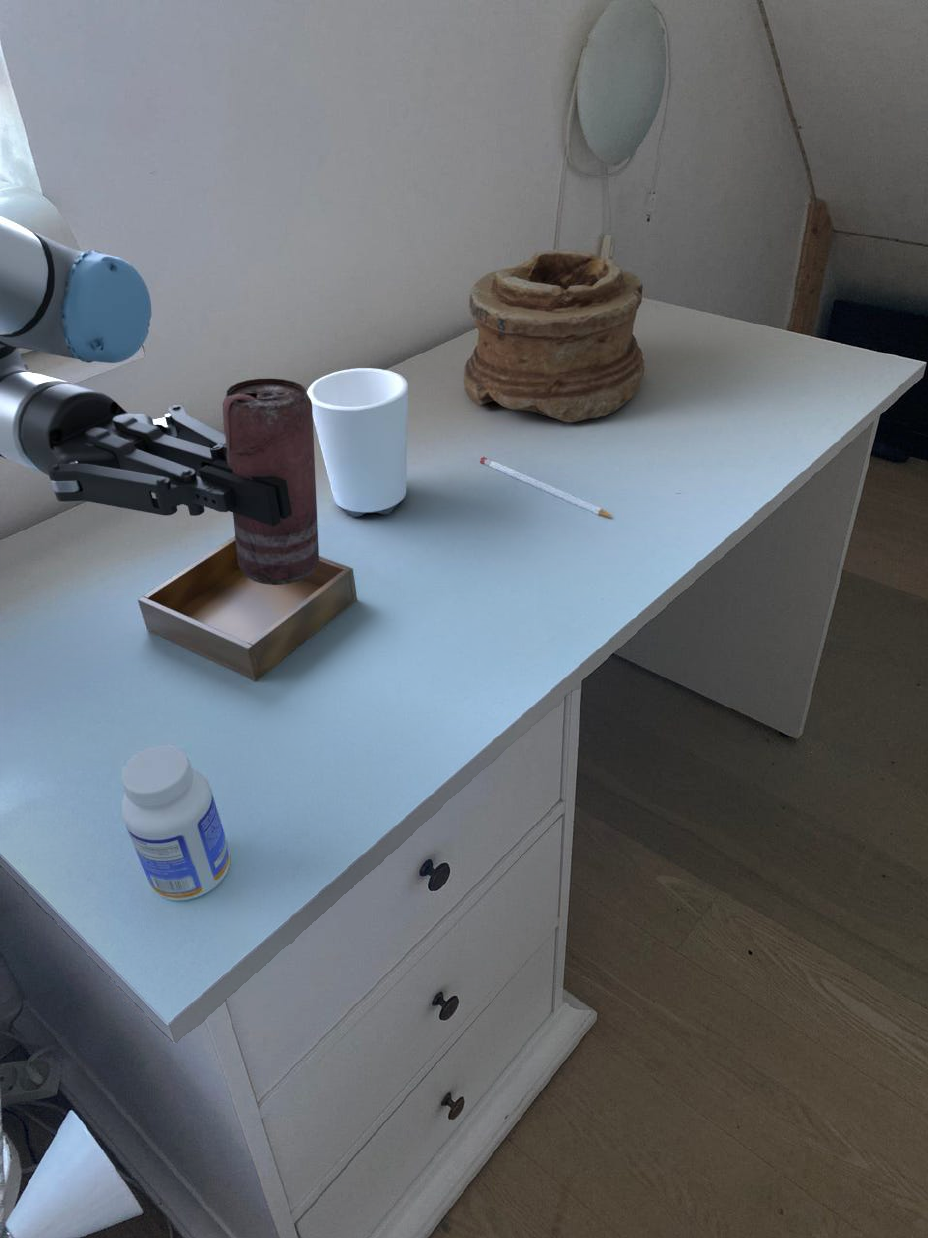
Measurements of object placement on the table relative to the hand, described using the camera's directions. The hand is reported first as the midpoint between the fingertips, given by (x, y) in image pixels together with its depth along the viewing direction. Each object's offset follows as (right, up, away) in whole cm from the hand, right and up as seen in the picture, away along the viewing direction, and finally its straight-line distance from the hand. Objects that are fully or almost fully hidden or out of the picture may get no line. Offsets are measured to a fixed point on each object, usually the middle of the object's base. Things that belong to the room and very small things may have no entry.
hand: (279, 503), depth 65 cm
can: (-2, -4, +8) cm, 9 cm away
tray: (-6, -7, +20) cm, 22 cm away
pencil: (+21, +6, +36) cm, 42 cm away
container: (+24, +22, +56) cm, 65 cm away
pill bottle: (-5, -25, -2) cm, 25 cm away
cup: (+3, +4, +35) cm, 35 cm away
